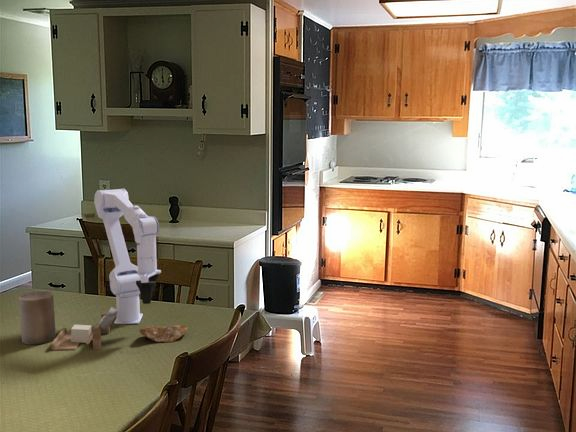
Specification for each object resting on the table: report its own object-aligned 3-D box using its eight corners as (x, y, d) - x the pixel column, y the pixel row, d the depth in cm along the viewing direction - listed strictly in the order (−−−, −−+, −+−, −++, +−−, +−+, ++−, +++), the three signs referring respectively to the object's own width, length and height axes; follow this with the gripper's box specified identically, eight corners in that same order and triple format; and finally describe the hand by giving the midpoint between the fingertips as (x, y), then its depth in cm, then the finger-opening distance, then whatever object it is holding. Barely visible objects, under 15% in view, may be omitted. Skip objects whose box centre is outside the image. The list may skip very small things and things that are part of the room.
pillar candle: (63, 336, 192) (60, 288, 190) (38, 346, 183) (35, 296, 181) (39, 332, 196) (36, 285, 194) (13, 342, 187) (10, 292, 185)
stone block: (91, 338, 190) (73, 337, 190) (91, 325, 190) (74, 324, 189) (88, 342, 186) (70, 342, 186) (88, 329, 186) (71, 328, 185)
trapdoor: (101, 335, 194) (93, 330, 194) (118, 310, 193) (110, 305, 193) (94, 348, 183) (85, 343, 183) (112, 321, 183) (103, 316, 182)
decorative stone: (135, 320, 192) (183, 320, 199) (134, 334, 193) (181, 333, 199) (142, 329, 184) (192, 328, 190) (141, 344, 184) (190, 342, 191)
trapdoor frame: (63, 333, 195) (63, 313, 194) (109, 332, 196) (109, 312, 195) (50, 350, 180) (49, 329, 179) (100, 349, 182) (99, 328, 181)
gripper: (157, 261, 186) (159, 306, 188) (162, 251, 200) (164, 293, 202) (133, 261, 185) (134, 306, 187) (140, 252, 199) (141, 294, 201)
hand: (148, 300), depth 194 cm, fingers open, 7 cm apart
